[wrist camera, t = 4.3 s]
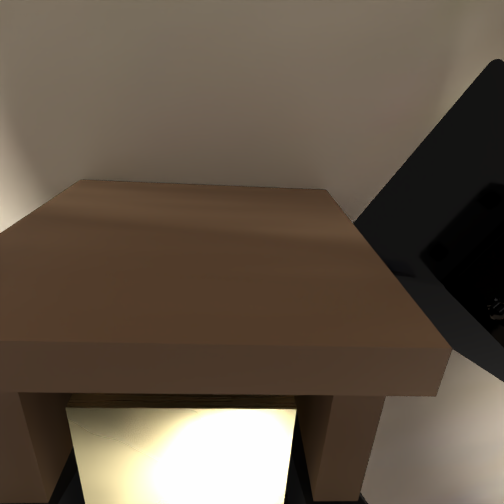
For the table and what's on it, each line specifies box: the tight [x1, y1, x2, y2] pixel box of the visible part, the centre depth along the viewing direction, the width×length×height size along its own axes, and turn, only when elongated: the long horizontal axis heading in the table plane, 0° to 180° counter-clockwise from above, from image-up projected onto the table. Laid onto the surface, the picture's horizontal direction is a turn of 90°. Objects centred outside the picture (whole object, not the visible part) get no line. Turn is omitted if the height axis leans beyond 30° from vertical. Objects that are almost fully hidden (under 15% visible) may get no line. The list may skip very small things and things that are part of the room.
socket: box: [0, 180, 452, 503], centre depth 7 cm, size 5×5×6 cm
